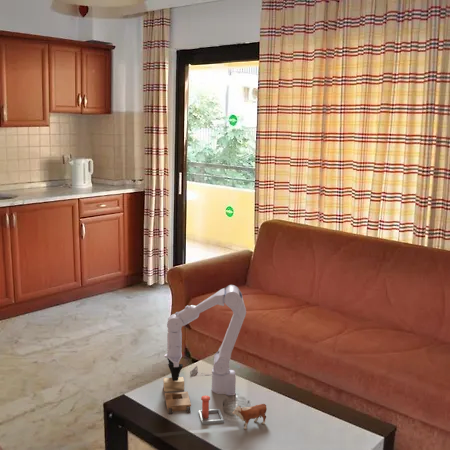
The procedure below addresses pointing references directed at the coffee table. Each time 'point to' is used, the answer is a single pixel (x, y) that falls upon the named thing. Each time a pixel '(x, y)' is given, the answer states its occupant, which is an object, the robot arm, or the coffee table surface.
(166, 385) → the block
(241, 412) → the bull figurine
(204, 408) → the pin
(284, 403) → the coffee table surface
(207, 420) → the grey square frame
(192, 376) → the bracket
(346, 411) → the coffee table surface
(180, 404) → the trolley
